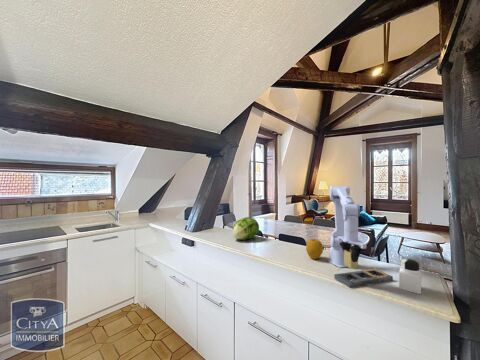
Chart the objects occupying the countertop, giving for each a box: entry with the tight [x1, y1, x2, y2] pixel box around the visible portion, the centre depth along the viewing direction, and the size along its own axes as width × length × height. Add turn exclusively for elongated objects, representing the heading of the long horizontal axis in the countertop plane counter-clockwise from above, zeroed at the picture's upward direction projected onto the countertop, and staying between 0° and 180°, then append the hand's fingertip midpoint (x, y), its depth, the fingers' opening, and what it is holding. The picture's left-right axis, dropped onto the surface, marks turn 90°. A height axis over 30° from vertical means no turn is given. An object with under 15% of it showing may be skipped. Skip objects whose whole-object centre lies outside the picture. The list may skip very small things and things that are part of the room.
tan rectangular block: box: [344, 249, 359, 269], centre depth 95 cm, size 4×4×7 cm
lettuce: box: [232, 216, 260, 241], centre depth 167 cm, size 18×23×19 cm
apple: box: [305, 238, 324, 260], centre depth 124 cm, size 10×10×12 cm
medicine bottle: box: [398, 258, 422, 295], centre depth 89 cm, size 7×7×12 cm
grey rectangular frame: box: [333, 268, 394, 289], centre depth 97 cm, size 9×25×2 cm, turn 107°
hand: (351, 259), depth 95 cm, fingers closed on tan rectangular block, 4 cm apart
